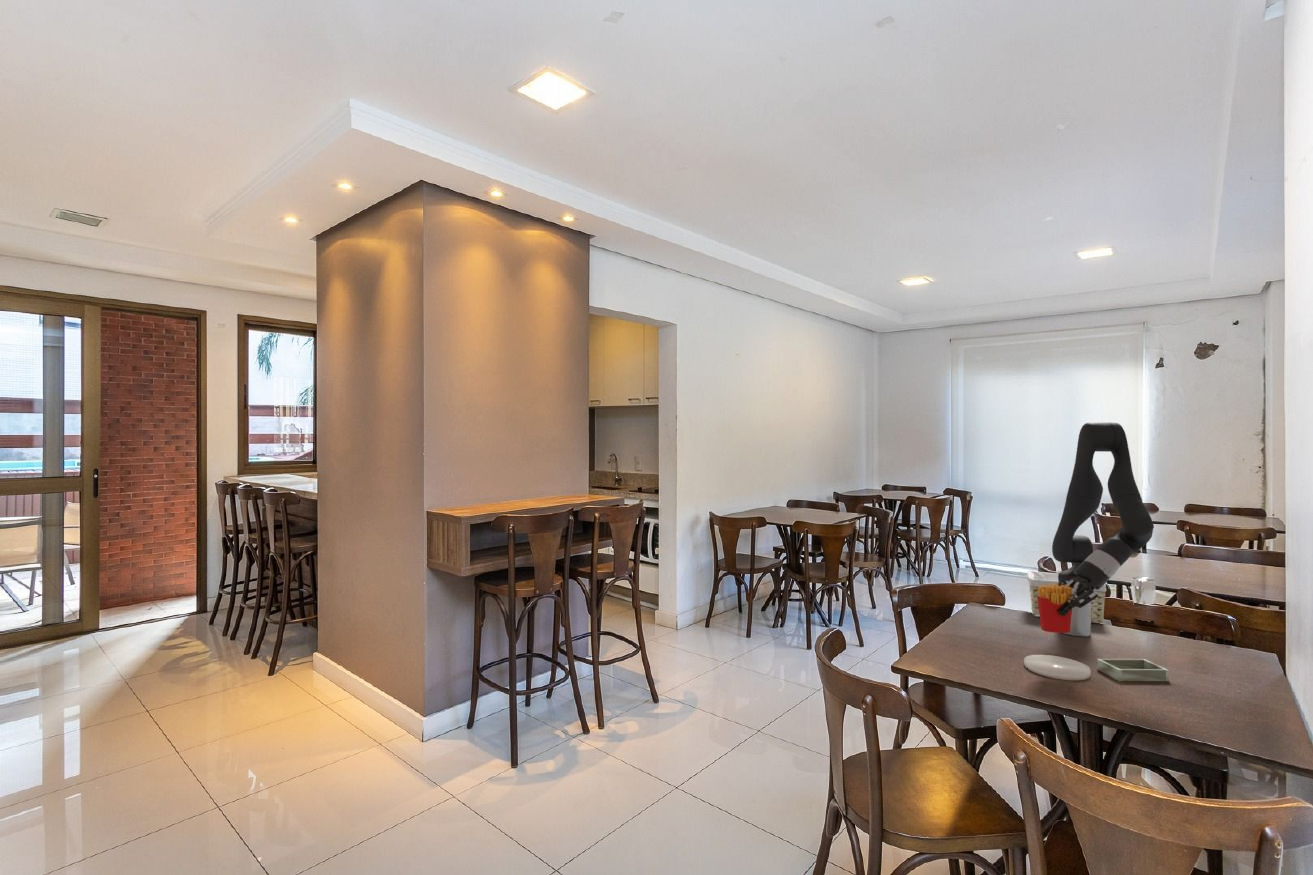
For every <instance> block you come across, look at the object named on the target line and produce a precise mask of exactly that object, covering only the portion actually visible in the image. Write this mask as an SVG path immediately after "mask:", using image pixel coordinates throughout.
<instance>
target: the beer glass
mask: <svg viewBox="0 0 1313 875" xmlns="http://www.w3.org/2000/svg"><path fill="white" fill-rule="evenodd" d="M1155 582H1156V580H1155V579H1153V578H1149V577H1140V576H1139V577H1138V576H1135V577H1132V578H1131V590H1130V591H1131V598H1132V602H1134V603H1143V604H1154V605H1155V601H1156V592H1157V591H1156V583H1155ZM1134 603H1133V604H1134Z"/></svg>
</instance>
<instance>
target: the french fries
mask: <svg viewBox="0 0 1313 875" xmlns="http://www.w3.org/2000/svg"><path fill="white" fill-rule="evenodd" d="M1072 589H1073V588H1071V587H1067V586H1064V585H1061V586H1058V585H1056V584H1055V586H1054V584H1051V585H1050V586H1049V585H1042V588H1041V587H1040V586H1038V590H1039V596H1037V600H1038V607H1039V615H1040V617H1039V620H1040V621H1039V622H1040V629H1041V630H1042V631H1043V632H1047V633H1054V634H1055V633H1058V634H1060V633H1061V634H1062V633H1063V634H1064V633H1069V632H1070V628H1071V617H1072V609H1071V610H1070V611H1069V612H1068V613H1067V614H1066V615H1065V616H1061V615H1060V614H1059V613H1058V612H1057V610H1058V609H1059V608H1060V607H1061V606H1062V605H1063V604H1064V603H1065V602H1067V600H1068V598H1069V597H1070V592H1071V591H1072Z"/></svg>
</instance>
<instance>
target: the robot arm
mask: <svg viewBox="0 0 1313 875" xmlns="http://www.w3.org/2000/svg"><path fill="white" fill-rule="evenodd" d="M1077 438H1078V440H1077V447H1076V452H1075V453H1076V455H1075V460H1074V466H1073V471H1072V475H1071V477H1070V482H1069V486H1068V489H1067V492H1066V493H1067V494H1066V497H1065V503H1064V507H1063V511H1062V514H1061V518H1060V522H1059V524H1058V527H1057V530H1056V532H1055V535H1054V538H1053V540H1052V547H1051V553H1052V556H1053V558H1054V560H1055V561H1057V562H1059V563H1071V564H1072V566H1071V567H1069V568H1068V569H1065V570H1062V571H1060V572H1058V573H1057V574H1058V586H1061V585H1064V586H1067V587H1071V588H1073V589H1072V591H1071V592H1070V597H1069V598H1068V600H1067V602H1065V603H1064V604H1063V605H1062V606H1061V607H1060V608H1059V609H1058V610H1057V612H1058V613H1059V614H1060V615H1061V616H1065V615H1066V614H1067V613H1068V612H1069V611H1070V610H1071V609H1072V617H1071V628H1070V632H1069V633H1063V634H1066V635H1069V636H1075V637H1090V636H1091V635H1092V622H1091V601H1092V600H1094V599H1095V598H1097V597H1098V595H1097V594H1096V593H1095V592H1094V589H1095V590H1099V589H1100V588H1101V587H1102V586H1103V585H1104V584H1105V585H1106V584H1107V582H1108V581H1109V580H1110V579H1111V578H1112V577H1113V576H1114V575H1115V574H1116V573H1117V572H1118V570H1119V569H1120V568H1121V567H1122V566H1123V565H1124V564H1125V563H1126V562H1127V561H1128V560H1129V559H1130V557H1131V556H1132V555H1134V554H1135V553H1137V552H1138V551H1140V550H1141V549H1142V548H1143V547H1144V546H1146V545H1147V544H1148V543H1149V541H1150V540H1151V539H1152V537H1153V534H1154V522H1153V519H1152V517H1151V515H1150V513H1149V511H1148V509H1147V508H1146V506H1145V505H1144V502H1143V499H1142V496H1141V494H1140V491H1139V488H1138V485H1137V483H1136V480H1135V476H1134V473H1133V472H1134V471H1133V466H1132V461H1131V454H1130V448H1129V443H1128V438H1127V434H1126V431H1125V429H1124V428H1123V426H1122V425H1121V424H1120V423H1117V422H1112V421H1111V422H1103V421H1101V422H1100V421H1099V422H1098V421H1097V422H1094V421H1092V422H1087V423H1084V424H1083V425H1082V426H1081V428H1080V430H1079V434H1078V437H1077ZM1096 452H1100V453H1101V452H1102V453H1103V452H1107V453H1108V452H1110V453H1111V455H1112V457H1113V460H1114V463H1113V468H1112V470H1111V472H1110V474H1109V476H1108V480H1107V489H1108V493H1109V496H1110V500H1111V503H1112V504H1113V507H1114V508H1115V510H1116V511H1117V513H1118V515H1119V517H1120V522H1121V529H1120V530H1119V531H1118V532H1117V533H1116V534H1115V535H1114V536H1113V537H1109V538H1107V539H1106V540H1105V541H1103V542H1102V543H1101V544H1100V545H1099V546H1098V547H1097V548H1096V549H1095V550H1094V547H1093V543H1092V540H1091V539H1090V538H1089V537H1088V536H1086V535H1075V534H1076V532H1077V530H1078V529H1079V527H1081V526H1082V525H1083V524H1084V523H1085V522H1086V521H1087V520H1088V519H1089V518H1091V517H1092V516H1093V515H1094V514H1095V513H1096V512H1097V510H1098V509H1099V508H1100V504H1101V500H1102V496H1103V493H1104V488H1103V484H1102V481H1101V480H1100V478H1099V476H1098V474H1097V472H1096V470H1095V468H1094V461H1093V460H1094V456H1095V453H1096Z"/></svg>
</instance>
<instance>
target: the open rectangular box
mask: <svg viewBox="0 0 1313 875" xmlns="http://www.w3.org/2000/svg"><path fill="white" fill-rule="evenodd" d="M1096 670H1098V671H1099V672H1101V673H1103V674H1105V675H1107V676H1109V677H1110V678H1112V679H1114V680H1116V681H1118V682H1170V670H1169V669H1167V668H1165V667H1164V666H1161V665H1158V664H1156V663H1154V662H1152V661H1149V660H1148V659H1145V658H1096Z"/></svg>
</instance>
